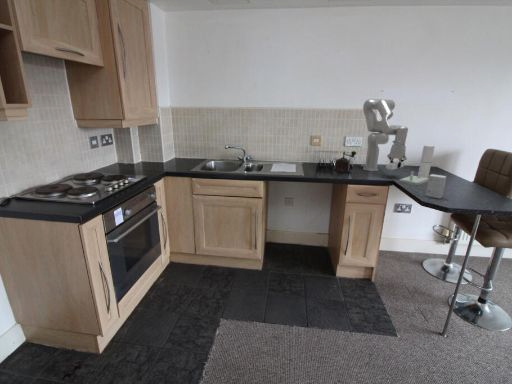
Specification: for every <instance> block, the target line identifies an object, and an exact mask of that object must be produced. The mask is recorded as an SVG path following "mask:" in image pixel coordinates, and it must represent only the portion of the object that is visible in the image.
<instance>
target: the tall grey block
mask: <svg viewBox="0 0 512 384" xmlns="http://www.w3.org/2000/svg"><path fill="white" fill-rule="evenodd" d="M435 147H436V146H435V145H429V144H423V149H422V153H421V159H420V164H419V168H418V170H419V169H421V170H422V171H421V174H420V177H424V178H429V176H430V170H431V167H432V163H433V155H434V152H435Z"/></svg>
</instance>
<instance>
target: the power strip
mask: <svg viewBox="0 0 512 384" xmlns="http://www.w3.org/2000/svg"><path fill="white" fill-rule="evenodd" d="M398 163H399V160H398V161H397V160H396V161H394V162H392V163H390V162H388V163H386V164H385V169H387V170H391V171H393V170H396V169H398V168H397V167H398ZM404 166H405V161H403V162H402V163H401V167H400V168H404Z"/></svg>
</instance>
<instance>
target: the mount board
mask: <svg viewBox="0 0 512 384" xmlns="http://www.w3.org/2000/svg"><path fill="white" fill-rule="evenodd" d="M421 171H422V170H421V169H419V168H418V172H417V175H414V173H415V171H410V175H409V176H406V177H403V178H400V179H399V183H403V184H408V185H412V186H420V185H423V184H425V183H428V180H429V177H428V178H424V177H420V174H421Z"/></svg>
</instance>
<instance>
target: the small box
mask: <svg viewBox="0 0 512 384" xmlns="http://www.w3.org/2000/svg"><path fill="white" fill-rule="evenodd" d="M428 178H429V180H428V182H427V186H426V192H425V197H429V198H436V199H441V198H442V197H443V196H444V191H445V187H446V186H445V185H446V182H447V178H448V177H447V175H440V174H434V173H432V174H429V177H428Z"/></svg>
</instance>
